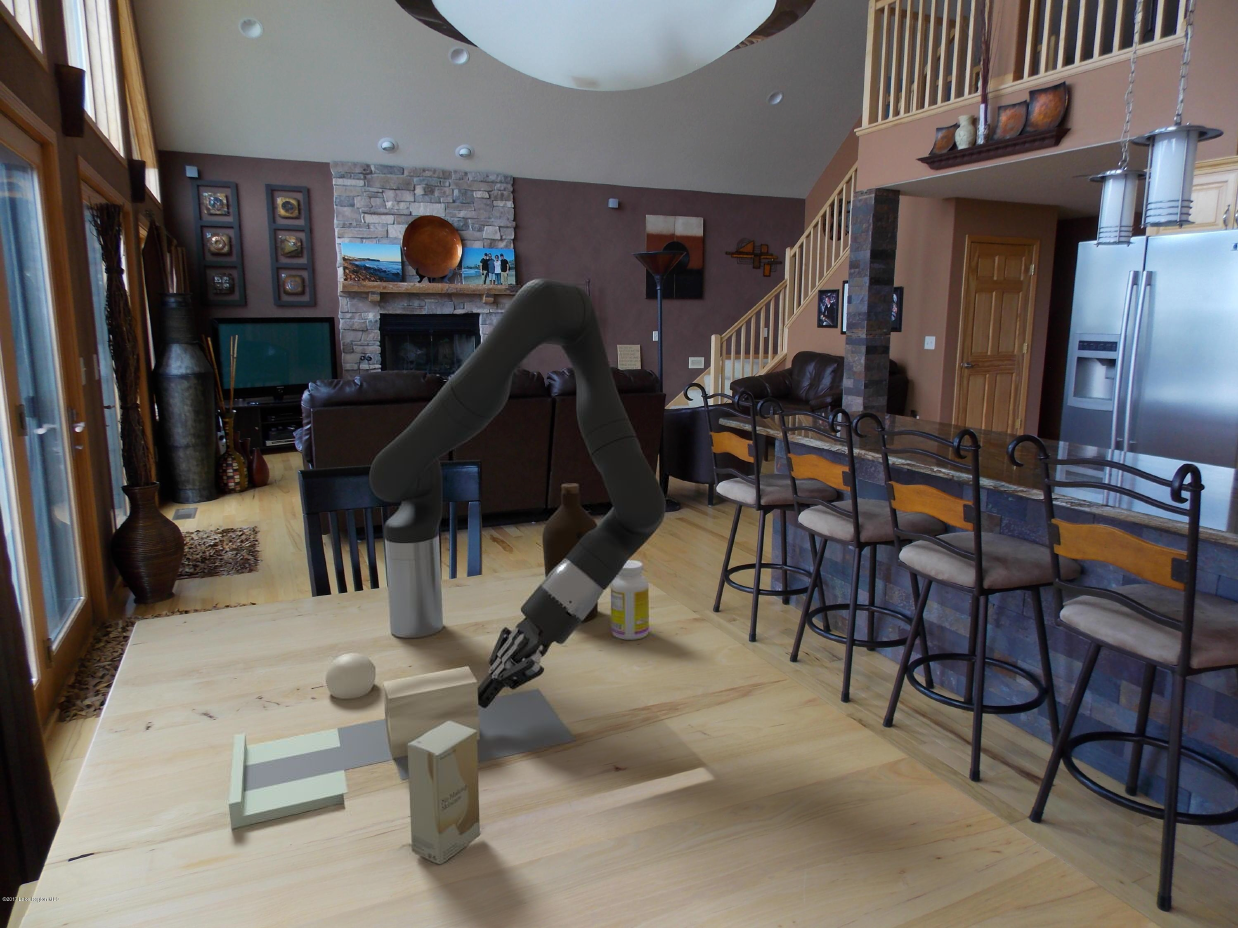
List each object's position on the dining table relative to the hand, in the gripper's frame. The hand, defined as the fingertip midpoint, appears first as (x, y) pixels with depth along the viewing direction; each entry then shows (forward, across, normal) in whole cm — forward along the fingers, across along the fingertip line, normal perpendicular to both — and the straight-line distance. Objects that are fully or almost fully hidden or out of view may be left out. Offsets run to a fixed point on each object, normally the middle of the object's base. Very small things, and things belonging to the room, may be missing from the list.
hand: (477, 702), depth 105 cm
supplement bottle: (-20, -24, +27) cm, 41 cm away
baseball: (+14, -19, -6) cm, 24 cm away
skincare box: (+10, +20, -2) cm, 22 cm away
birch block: (+7, 0, -2) cm, 7 cm away
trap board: (+10, 0, -3) cm, 10 cm away
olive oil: (-15, -37, +23) cm, 46 cm away
